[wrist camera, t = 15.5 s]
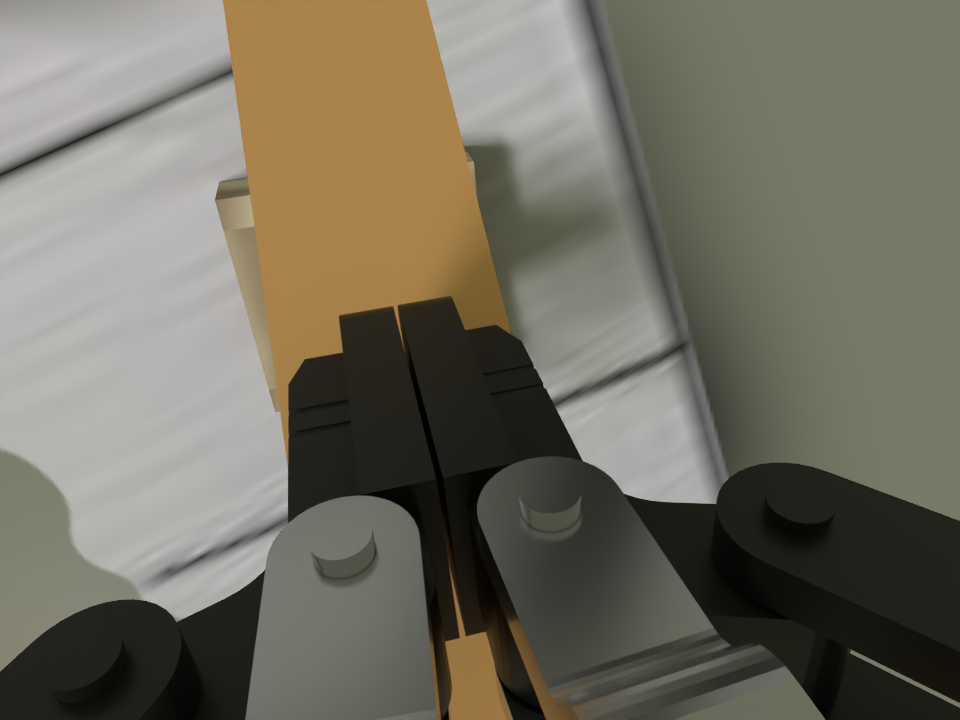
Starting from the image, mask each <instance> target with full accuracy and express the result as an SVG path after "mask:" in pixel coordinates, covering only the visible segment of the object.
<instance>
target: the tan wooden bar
mask: <svg viewBox="0 0 960 720" xmlns="http://www.w3.org/2000/svg"><path fill="white" fill-rule="evenodd" d="M223 4H224V11H225V18H226V25H227V33H228V40H229V47H230V54H231V61H232V69H233V76H234V83H235V90H236V97H237V104H238V112H239V119H240V126H241V133H242V140H243V148H244V155H245V162H246V169H247V176H248V184H249V191H250V198H251V205H252V212H253V219H254V227H255V234H256V241H257V248H258V255H259V263H260V270H261V277H262V284H263V291H264V298H265V306H266V313H267V320H268V327H269V334H270V342H271V349H272V356H273V363H274V370H275V378H276V385H277V392H278V399H279V406H280V413H281V421H282V428H283V435H284V442H285V449H286V457H287V464H288V438H289V433H288V416H289V411H288V384H289V383H290V381H291V380H292V378H293V377H294V375H295V374H296V372H297V370H298V369H299V367H300V366H301V364H302V363H303V361H304V360H305V359H309V358H314V357H320V356H326V355H331V354H337V353H342V352H343V349H342V341H341V332H340V323H339V315H344V314H349V313H355V312H361V311H367V310H372V309H378V308H384V307H390V306H393V308H394V311H395V315H396V319H397V323H398V327H399V331H400V335H401V328H400V322H399V315H398V305H400V304H406V303H412V302H418V301H423V300H429V299H435V298H441V297H446V296H451V297H452V298H453V301H454V303H455V306H456V308H457V311H458V313H459V316H460V318H461V321H462V323H463V326H464V328H465V330H469V329H475V328H480V327H486V326H491V325H498V326H499V327H501V328H502V329H504V330H505V331H507V332H508V333H510V334H511V335H512V333H511V329H510V325H509V321H508V317H507V313H506V309H505V306H504V302H503V298H502V294H501V290H500V286H499V282H498V278H497V274H496V271H495V267H494V263H493V259H492V255H491V251H490V247H489V243H488V239H487V236H486V232H485V228H484V224H483V220H482V216H481V212H480V208H479V204H478V201H477V197H476V193H475V189H474V185H473V181H472V177H471V173H470V169H469V166H468V162H467V158H466V154H465V150H464V146H463V142H462V138H461V134H460V131H459V127H458V123H457V119H456V115H455V111H454V107H453V103H452V99H451V96H450V92H449V88H448V84H447V80H446V76H445V72H444V68H443V64H442V61H441V57H440V53H439V49H438V45H437V41H436V37H435V33H434V29H433V26H432V22H431V18H430V14H429V10H428V6H427V2H426V0H223ZM401 340H402V335H401ZM402 344H403V341H402ZM403 348H404V347H403ZM449 568H450V567H449ZM450 575H451V572H450ZM451 582H452V588H453V595H454V602H455V608H456V615H457V622H458V628H459V635H460V638H458V639H454V640H450V641H446V642H445V644H446V650H447V656H448V662H449V668H450V674H451V682H452V694H451V700H450V704H449V706H450V712H451V720H506V718H505V715H504V712H503V709H502V706H501V703H500V700H499V696H498V691H497V683H496V674H495V665H494V660H493V656H492V653H491V649H490V645H489V641H488V637H487V634H486V632H482V633H478V634H474V635H470V636H466V635H465V631H464V627H463V622H462V618H461V614H460V610H459V605H458V601H457V597H456V593H455V589H454V584H453V580H452V576H451Z"/></svg>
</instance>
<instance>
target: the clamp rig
mask: <svg viewBox="0 0 960 720" xmlns="http://www.w3.org/2000/svg"><path fill="white" fill-rule="evenodd" d="M464 150H465V154H466V158H467V162H468V166H469V169H470V173H471V177H472V181H473V185H474V189H475V193H476V197H477V191H476V179H475V168H474V161H473V159H472V158H471V156H470V155H469V153H468V152H467V150H466V149H465V148H464ZM215 202H216V206H217V209H218V213H219V216H220V220H221V223H222V227H223V230H224V234H225V237H226V241H227V244H228V248H229V251H230V255H231V258H232V262H233V265H234V269H235V272H236V276H237V279H238V283H239V286H240V290H241V293H242V297H243V300H244V304H245V307H246V311H247V314H248V318H249V321H250V325H251V328H252V332H253V335H254V339H255V342H256V346H257V349H258V353H259V356H260V360H261V363H262V367H263V370H264V374H265V377H266V381H267V384H268V388H269V391H270V395H271V398H272V402H273V405H274V409H275V412H279V411H280V406H279V399H278V392H277V385H276V378H275V370H274V363H273V356H272V349H271V342H270V334H269V327H268V320H267V313H266V306H265V298H264V291H263V284H262V277H261V270H260V263H259V255H258V248H257V241H256V234H255V227H254V219H253V212H252V205H251V198H250V191H249V184H248V178H245V179H239V180H232V181H225V182H219V185H218V189H217V194H216V198H215Z"/></svg>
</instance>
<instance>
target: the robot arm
mask: <svg viewBox="0 0 960 720" xmlns="http://www.w3.org/2000/svg"><path fill="white" fill-rule="evenodd" d="M398 315H399V322H400V328H401V335H402V340H401V335H400V331H399V327H398V323H397V319H396V315H395V311H394V308H393V306H390V307H384V308H378V309H372V310H367V311H361V312H355V313H349V314H344V315H339V323H340V332H341V341H342V349H343V352H342V353H337V354H331V355H326V356H320V357H314V358H309V359H305V360H304V361H303V363H302V364H301V366H300V367H299V369H298V370H297V372H296V374H295V375H294V377H293V378H292V380H291V381H290V383H289V384H288V411H289V416H288V433H289V438H288V524H287V525H286V526H285V527H284V528H283V529H282V530H281V531H280V533H279V534H278V536H277V537H276V538H275V540H274V541H273V544H272V546H271V548H270V550H269V553H268V557H267V561H266V568H265V570H264V571H263V573H262V574H260V575H259V576H258V577H257V578H256V579H255V580H253V581H252V582H251V583H250V584H248V585H247V586H245V587H244V588H242V589H241V590H240V591H238V592H236V593H235V594H233V595H231V596H229V597H227V598H225V599H224V600H221V601H219V602H217V603H215V604H213V605H211V606H209V607H207V608H205V609H203V610H201V611H199V612H197V613H195V614H193V615H191V616H188V617H186V618H184V619H182V620H180V621H178V622H176V621H175V619H174V617H173V616H172V615H171V614H170V613H169V612H168V611H167V610H166V609H164V608H162V607H160V606H159V605H157V604H154V603H151V602H147V601H142V600H117V601H112V602H106V603H102V604H99V605H96V606H92V607H89V608H87V609H84V610H82V611H80V612H77V613H75V614H73V615H71V616H70V617H68V618H66V619H64V620H62V621H60V622H59V623H57V624H56V625H55V626H53V627H51V628H50V629H49V630H47V631H46V632H44V633H43V634H42V635H41V636H40V637H38V638H37V639H36V640H35V641H33V642H32V643H31V644H30V645H29V646H28V647H27V648H26V649H25V650H24V651H23V652H21V653H20V654H19V655H18V656H17V657H16V658H15V659H14V660H13V661H12V662H10V663H9V664H8V665H7V666H6V667H5V668H4V669H3V670H2V671H1V672H0V720H451V712H450V706H449V704H450V700H451V694H452V682H451V674H450V668H449V662H448V656H447V650H446V644H445V642H446V641H450V640H454V639H458V638H460V635H459V628H458V622H457V615H456V608H455V602H454V595H453V588H452V582H451V576H452V580H453V584H454V589H455V593H456V597H457V601H458V605H459V610H460V614H461V618H462V622H463V627H464V631H465V635H466V636H470V635H474V634H478V633H482V632H486V634H487V637H488V641H489V645H490V649H491V653H492V656H493V660H494V665H495V674H496V683H497V691H498V696H499V700H500V703H501V706H502V709H503V712H504V715H505V718H506V720H960V708H959V707H956V706H955V705H953V704H951V703H949V702H947V701H945V700H943V699H941V698H939V697H937V696H935V695H933V694H931V693H928V692H927V691H925V690H923V689H921V688H919V687H916V686H914V685H912V684H910V683H908V682H906V681H904V680H902V679H900V678H898V677H896V676H894V675H892V674H890V673H888V672H886V671H884V670H882V669H880V668H878V667H876V666H874V665H872V664H870V663H868V662H866V661H864V660H862V659H860V658H858V657H856V656H854V655H852V654H850V651H851V650H853V651H855V652H857V653H860V654H862V655H864V656H866V657H868V658H870V659H872V660H874V661H876V662H878V663H880V664H882V665H884V666H886V667H888V668H890V669H892V670H894V671H896V672H898V673H900V674H902V675H904V676H906V677H908V678H910V679H912V680H914V681H916V682H919V683H920V684H922V685H924V686H927V687H928V688H931V689H933V690H935V691H937V692H939V693H941V694H943V695H945V696H947V697H949V698H951V699H953V700H955V701H957V702H959V703H960V521H958V520H956V519H952V518H950V517H948V516H945V515H942V514H940V513H937V512H934V511H931V510H929V509H926V508H923V507H921V506H918V505H915V504H913V503H910V502H907V501H905V500H902V499H899V498H896V497H894V496H891V495H888V494H885V493H883V492H880V491H878V490H875V489H872V488H870V487H867V486H864V485H861V484H858V483H856V482H853V481H851V480H848V479H845V478H842V477H840V476H837V475H835V474H832V473H829V472H826V471H823V470H820V469H817V468H814V467H810V466H805V465H800V464H792V463H768V464H760V465H756V466H752V467H748V468H746V469H744V470H741V471H739V472H737V473H736V474H734V475H733V476H731V477H730V478H729V479H728V480H727V481H726V482H725V483H724V484H723V486H722V488H721V489H720V491H719V494H718V498H717V503H716V504H698V503H671V502H657V501H649V500H644V499H639V498H635V497H632V496H629V495H626V494H623V492H622V491H621V489H620V488H619V486H618V485H617V484H616V483H615V481H614V480H613V479H612V478H611V477H610V476H609V475H607V474H606V473H605V472H604V471H602V470H600V469H599V468H597V467H595V466H593V465H591V464H589V463H586V462H584V461H582V459H581V457H580V455H579V453H578V451H577V449H576V447H575V445H574V443H573V441H572V439H571V437H570V435H569V433H568V431H567V429H566V427H565V425H564V423H563V422H562V420H561V418H560V416H559V414H558V412H557V410H556V408H555V406H554V404H553V402H552V400H551V398H550V396H549V394H548V392H547V390H546V388H544V387H543V382H542V380H541V378H540V377H539V375H538V373H537V371H536V369H534V366H533V363H532V361H531V359H530V357H529V355H528V353H527V351H526V349H525V347H524V345H523V343H522V341H520V340H519V339H517V338H516V337H514V336H513V335H511V334H510V333H508V332H507V331H505V330H504V329H502V328H501V327H499V326H498V325H491V326H486V327H480V328H475V329H469V330H465V328H464V326H463V323H462V321H461V318H460V316H459V313H458V311H457V308H456V306H455V303H454V301H453V298H452V297H451V296H446V297H441V298H435V299H429V300H423V301H418V302H412V303H406V304H400V305H398ZM402 341H403V344H402ZM403 347H404V348H403ZM449 567H450V568H449ZM450 572H451V575H450Z"/></svg>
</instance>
